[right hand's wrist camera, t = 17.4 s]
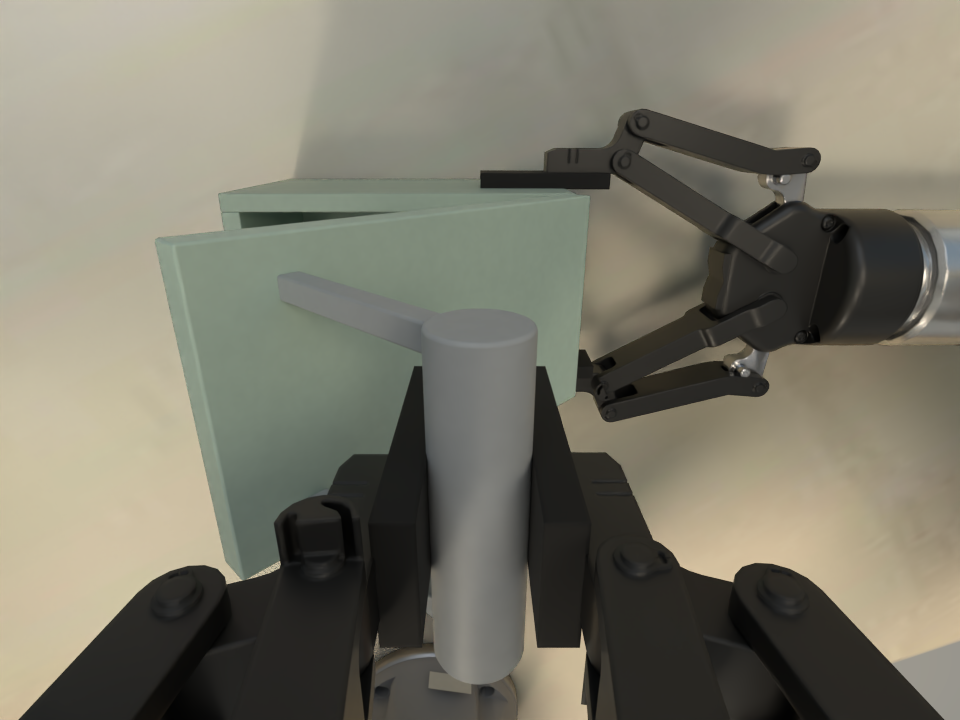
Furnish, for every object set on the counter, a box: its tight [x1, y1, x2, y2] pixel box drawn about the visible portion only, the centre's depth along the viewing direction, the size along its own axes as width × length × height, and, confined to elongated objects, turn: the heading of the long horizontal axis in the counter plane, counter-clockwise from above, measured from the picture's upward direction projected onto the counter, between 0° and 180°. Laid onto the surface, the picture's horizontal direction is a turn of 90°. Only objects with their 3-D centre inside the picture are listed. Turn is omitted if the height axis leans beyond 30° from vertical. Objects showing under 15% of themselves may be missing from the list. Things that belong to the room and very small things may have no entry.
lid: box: [155, 194, 590, 685], centre depth 17 cm, size 17×10×9 cm
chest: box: [218, 179, 576, 231], centre depth 31 cm, size 16×10×11 cm, turn 90°
